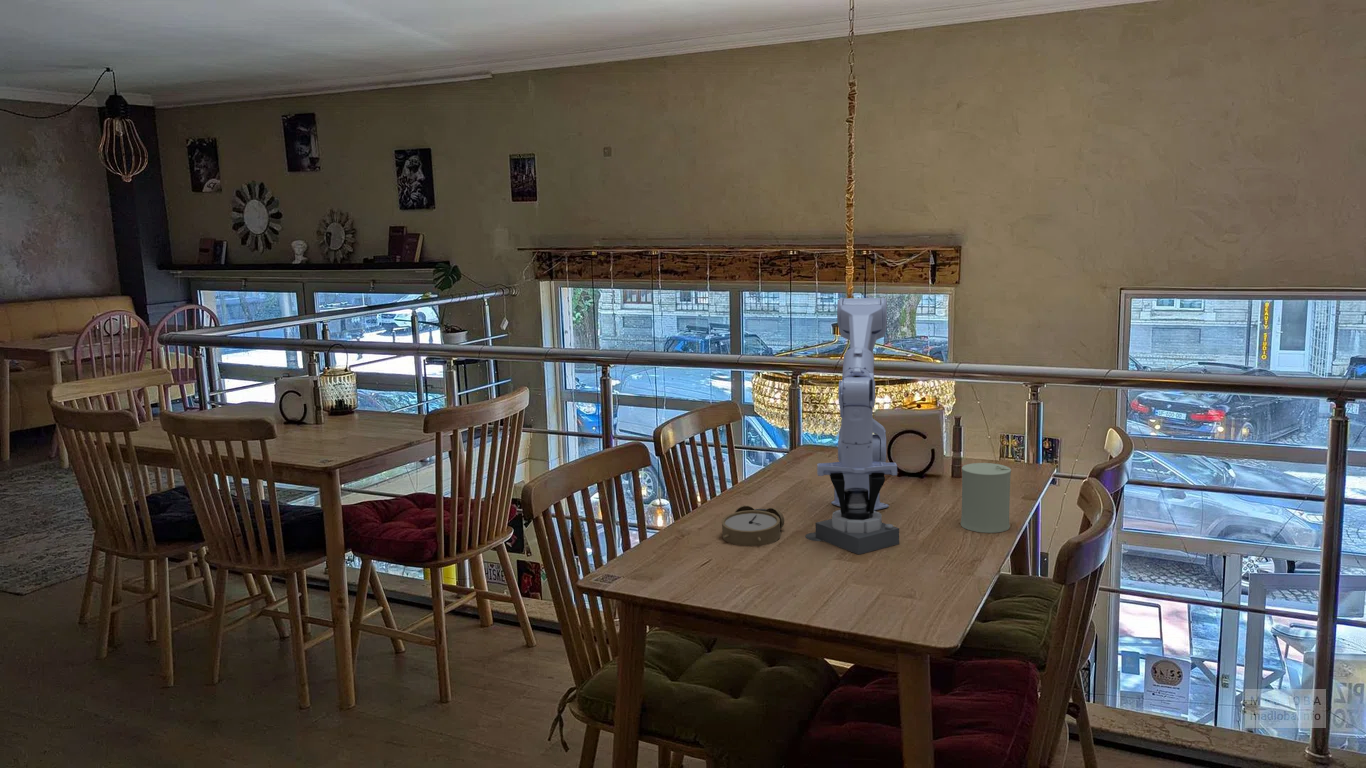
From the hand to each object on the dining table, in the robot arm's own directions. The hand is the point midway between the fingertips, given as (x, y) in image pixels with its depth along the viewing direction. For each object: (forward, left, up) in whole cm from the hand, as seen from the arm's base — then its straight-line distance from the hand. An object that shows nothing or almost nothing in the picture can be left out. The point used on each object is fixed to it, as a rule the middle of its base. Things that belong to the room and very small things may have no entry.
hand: (856, 512), depth 181 cm
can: (+8, +26, -6) cm, 28 cm away
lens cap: (-6, -4, -6) cm, 10 cm away
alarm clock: (-15, -13, -6) cm, 21 cm away
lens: (0, 0, -2) cm, 2 cm away
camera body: (0, 0, -6) cm, 6 cm away
